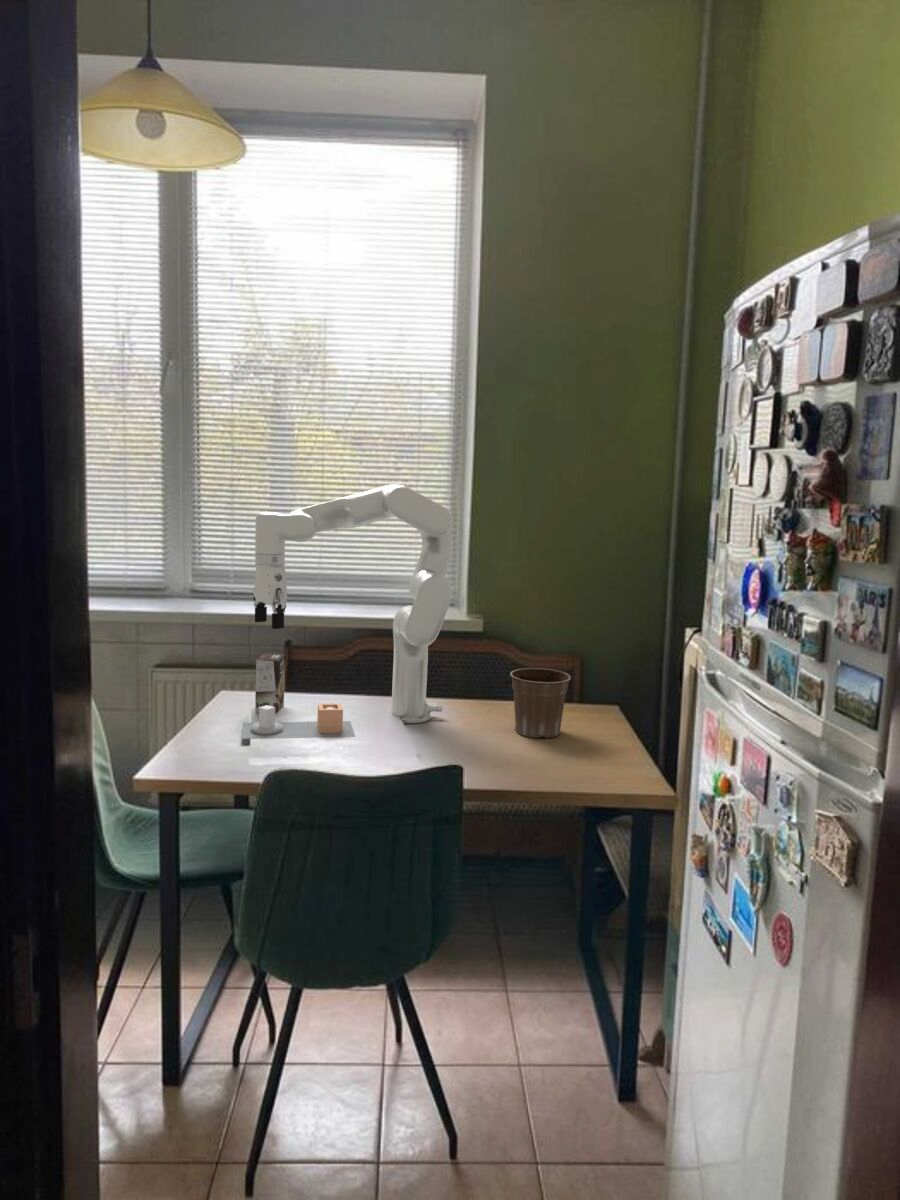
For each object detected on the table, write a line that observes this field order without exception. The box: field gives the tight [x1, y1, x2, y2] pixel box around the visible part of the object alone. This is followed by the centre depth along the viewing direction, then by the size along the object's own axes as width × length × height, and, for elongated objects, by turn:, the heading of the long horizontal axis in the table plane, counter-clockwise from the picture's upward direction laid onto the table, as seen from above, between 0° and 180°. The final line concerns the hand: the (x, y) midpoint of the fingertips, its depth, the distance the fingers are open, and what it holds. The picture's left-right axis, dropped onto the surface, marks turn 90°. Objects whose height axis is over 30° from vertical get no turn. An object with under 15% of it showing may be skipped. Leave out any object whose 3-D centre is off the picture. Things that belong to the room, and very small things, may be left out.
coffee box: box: [254, 653, 286, 714], centre depth 241 cm, size 9×6×16 cm
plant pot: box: [509, 667, 572, 739], centre depth 236 cm, size 16×16×16 cm
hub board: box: [241, 705, 356, 745], centre depth 224 cm, size 28×13×8 cm, turn 102°
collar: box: [316, 702, 344, 733], centre depth 225 cm, size 6×6×6 cm
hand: (269, 625), depth 228 cm, fingers open, 9 cm apart
